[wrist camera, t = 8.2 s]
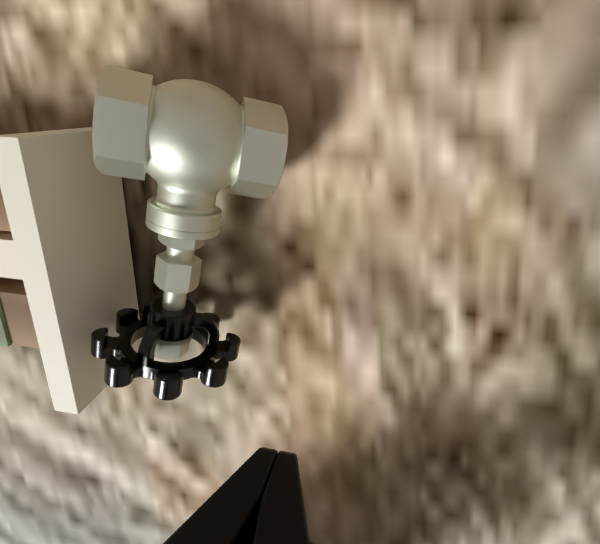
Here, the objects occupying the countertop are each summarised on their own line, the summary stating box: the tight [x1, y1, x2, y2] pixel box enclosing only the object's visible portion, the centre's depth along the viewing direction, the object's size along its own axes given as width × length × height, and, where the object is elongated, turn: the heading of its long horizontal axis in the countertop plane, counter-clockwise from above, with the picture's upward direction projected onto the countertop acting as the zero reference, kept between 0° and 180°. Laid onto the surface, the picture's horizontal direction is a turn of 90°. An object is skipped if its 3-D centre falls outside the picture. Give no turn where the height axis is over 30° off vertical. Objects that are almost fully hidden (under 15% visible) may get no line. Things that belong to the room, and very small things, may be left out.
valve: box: [91, 65, 288, 400], centre depth 17 cm, size 7×7×12 cm
